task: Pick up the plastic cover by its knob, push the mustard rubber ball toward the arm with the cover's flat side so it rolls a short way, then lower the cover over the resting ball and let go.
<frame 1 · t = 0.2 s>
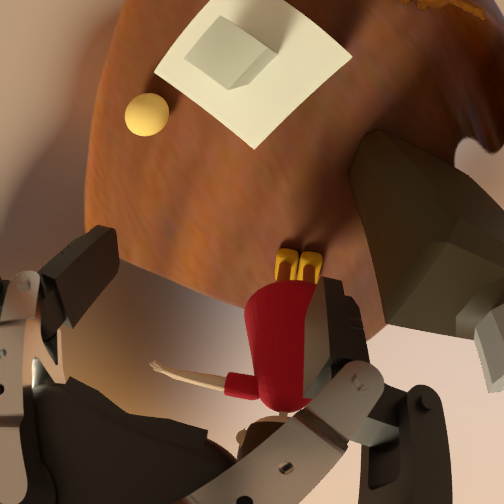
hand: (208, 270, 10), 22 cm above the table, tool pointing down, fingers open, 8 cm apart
bottle: (411, 178, 27), on the table
ball: (146, 114, 26), on the table
cover: (263, 60, 23), on the table
toy: (300, 254, 37), on the table
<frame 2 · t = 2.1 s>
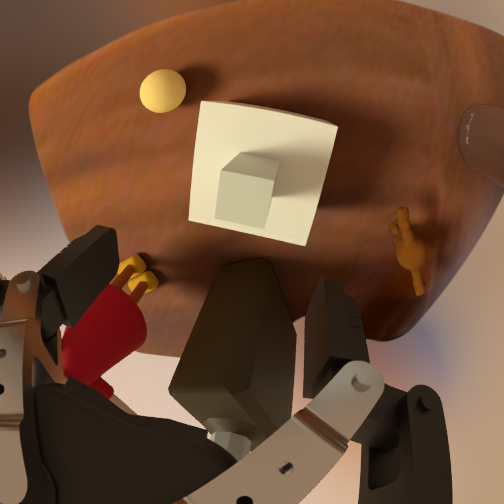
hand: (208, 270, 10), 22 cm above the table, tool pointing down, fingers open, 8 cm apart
bottle: (259, 302, 40), on the table
ball: (162, 90, 24), on the table
cover: (267, 155, 29), on the table
toy figurine: (398, 231, 31), on the table
toy: (146, 269, 40), on the table
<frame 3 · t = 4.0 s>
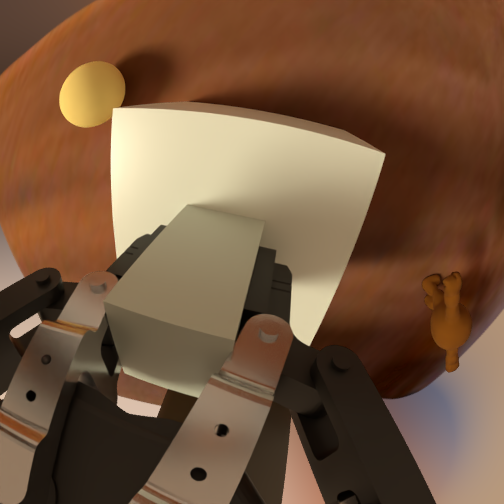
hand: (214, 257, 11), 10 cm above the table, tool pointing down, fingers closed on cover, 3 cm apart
bottle: (246, 366, 30), on the table
ball: (92, 94, 14), on the table
cover: (251, 185, 19), on the table, touching gripper
toy figurine: (431, 287, 21), on the table
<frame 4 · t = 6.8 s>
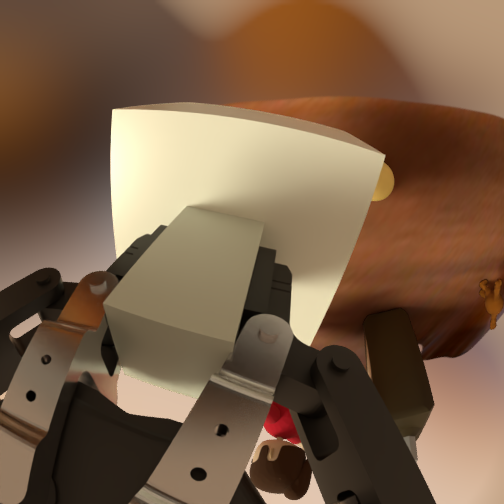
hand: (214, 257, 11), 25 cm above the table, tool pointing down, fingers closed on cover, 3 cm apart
bottle: (384, 338, 45), on the table
ball: (373, 180, 29), on the table
cover: (251, 186, 19), point 15 cm above the table, touching gripper
toy figurine: (482, 286, 36), on the table
toy: (295, 318, 45), on the table
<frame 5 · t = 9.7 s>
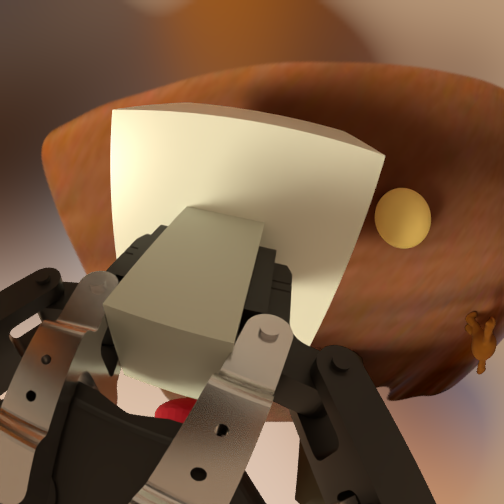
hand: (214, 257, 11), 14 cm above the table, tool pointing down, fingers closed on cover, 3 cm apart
bottle: (337, 382, 36), on the table
ball: (403, 218, 20), on the table
cover: (251, 186, 19), point 4 cm above the table, touching gripper
toy figurine: (470, 319, 28), on the table
toy: (218, 358, 36), on the table
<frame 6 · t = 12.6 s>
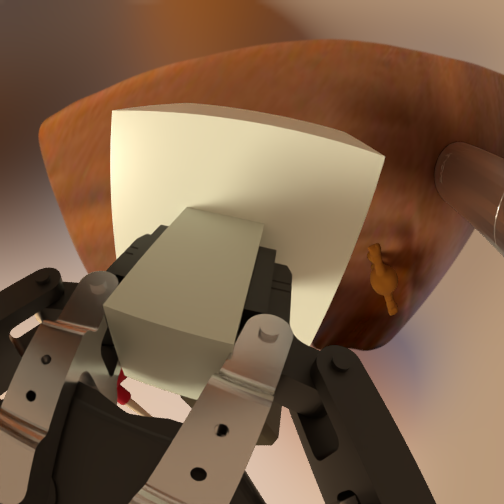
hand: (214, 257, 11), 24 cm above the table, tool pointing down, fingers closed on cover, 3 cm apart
bottle: (254, 317, 46), on the table
cover: (251, 186, 19), point 15 cm above the table, touching gripper
toy figurine: (375, 258, 37), on the table
toy: (154, 288, 46), on the table
when the fingers open (10 cm above the table, at t = 15.3 s): cover stays where it is, on the table.
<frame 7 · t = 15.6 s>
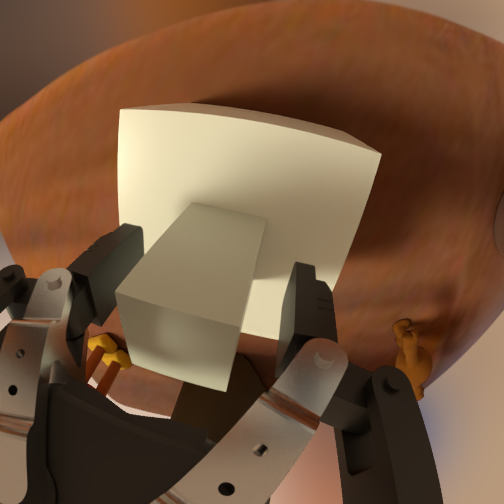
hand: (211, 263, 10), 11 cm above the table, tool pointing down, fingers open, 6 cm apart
bottle: (240, 386, 34), on the table
cover: (252, 184, 19), on the table
toy figurine: (402, 328, 25), on the table
toy: (118, 346, 34), on the table
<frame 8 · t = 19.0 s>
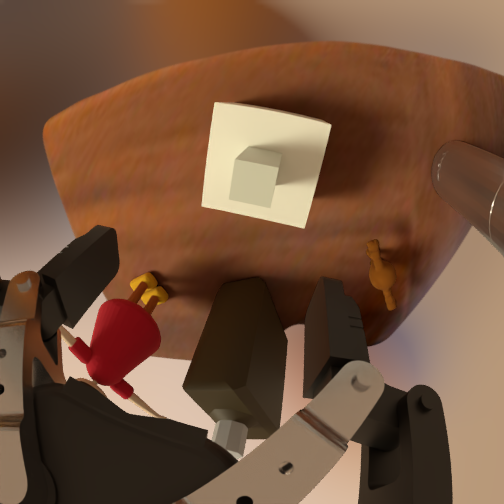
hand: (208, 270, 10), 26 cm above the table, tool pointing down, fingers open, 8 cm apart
bottle: (255, 313, 46), on the table
cover: (269, 150, 32), on the table
toy figurine: (374, 255, 38), on the table
toy: (157, 284, 47), on the table
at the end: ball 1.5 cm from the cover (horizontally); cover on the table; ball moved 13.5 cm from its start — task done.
